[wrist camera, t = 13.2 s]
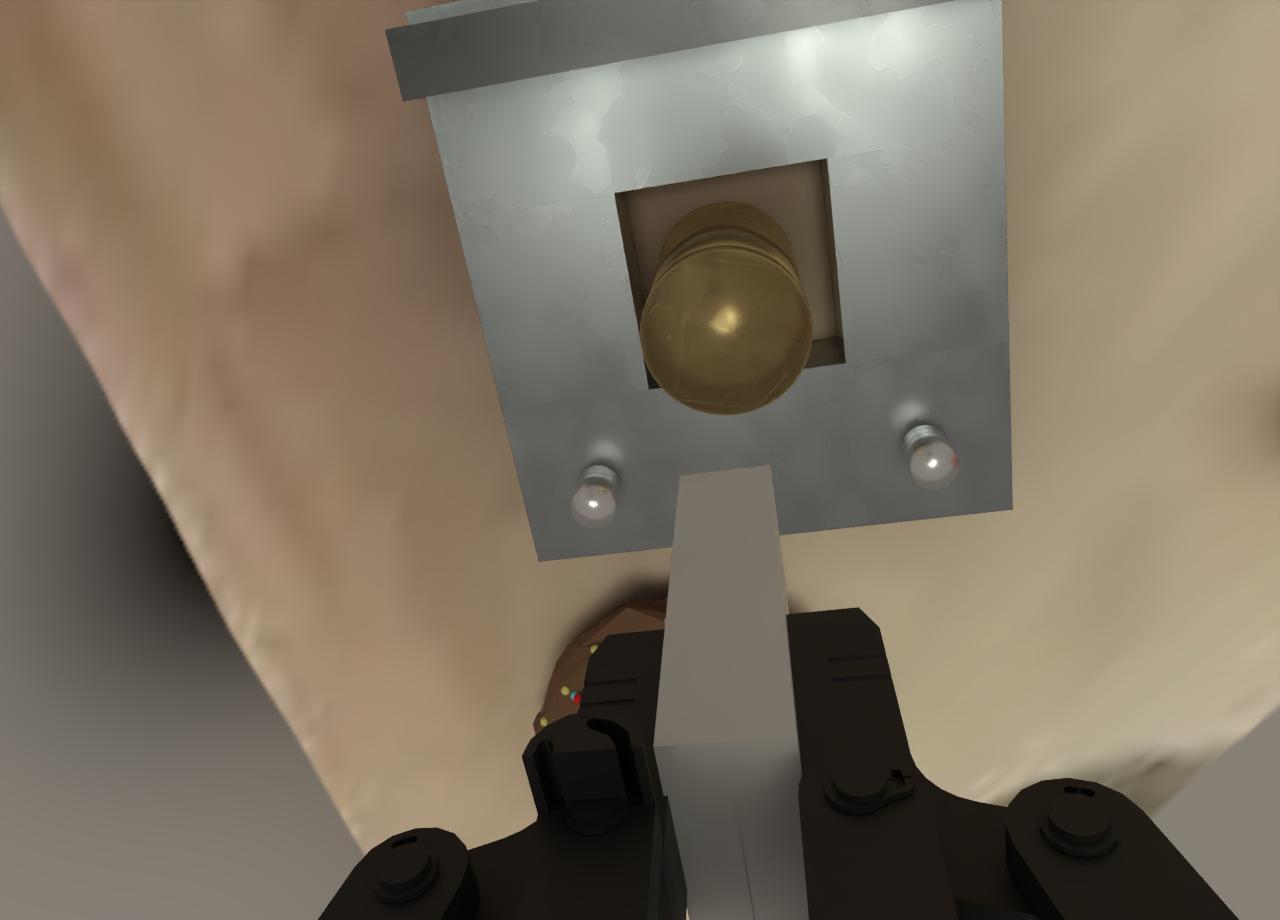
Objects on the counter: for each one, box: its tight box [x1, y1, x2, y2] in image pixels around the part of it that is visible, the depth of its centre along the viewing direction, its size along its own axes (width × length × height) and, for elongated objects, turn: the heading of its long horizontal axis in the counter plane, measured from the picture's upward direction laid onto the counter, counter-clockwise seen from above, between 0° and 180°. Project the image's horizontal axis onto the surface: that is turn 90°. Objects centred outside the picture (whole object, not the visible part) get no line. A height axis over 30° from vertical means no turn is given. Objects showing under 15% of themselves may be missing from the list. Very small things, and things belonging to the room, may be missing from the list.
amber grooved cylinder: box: [640, 202, 812, 415], centre depth 33 cm, size 5×5×8 cm
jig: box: [385, 0, 1013, 562], centre depth 34 cm, size 20×18×5 cm
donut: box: [533, 598, 668, 734], centre depth 43 cm, size 14×14×5 cm
